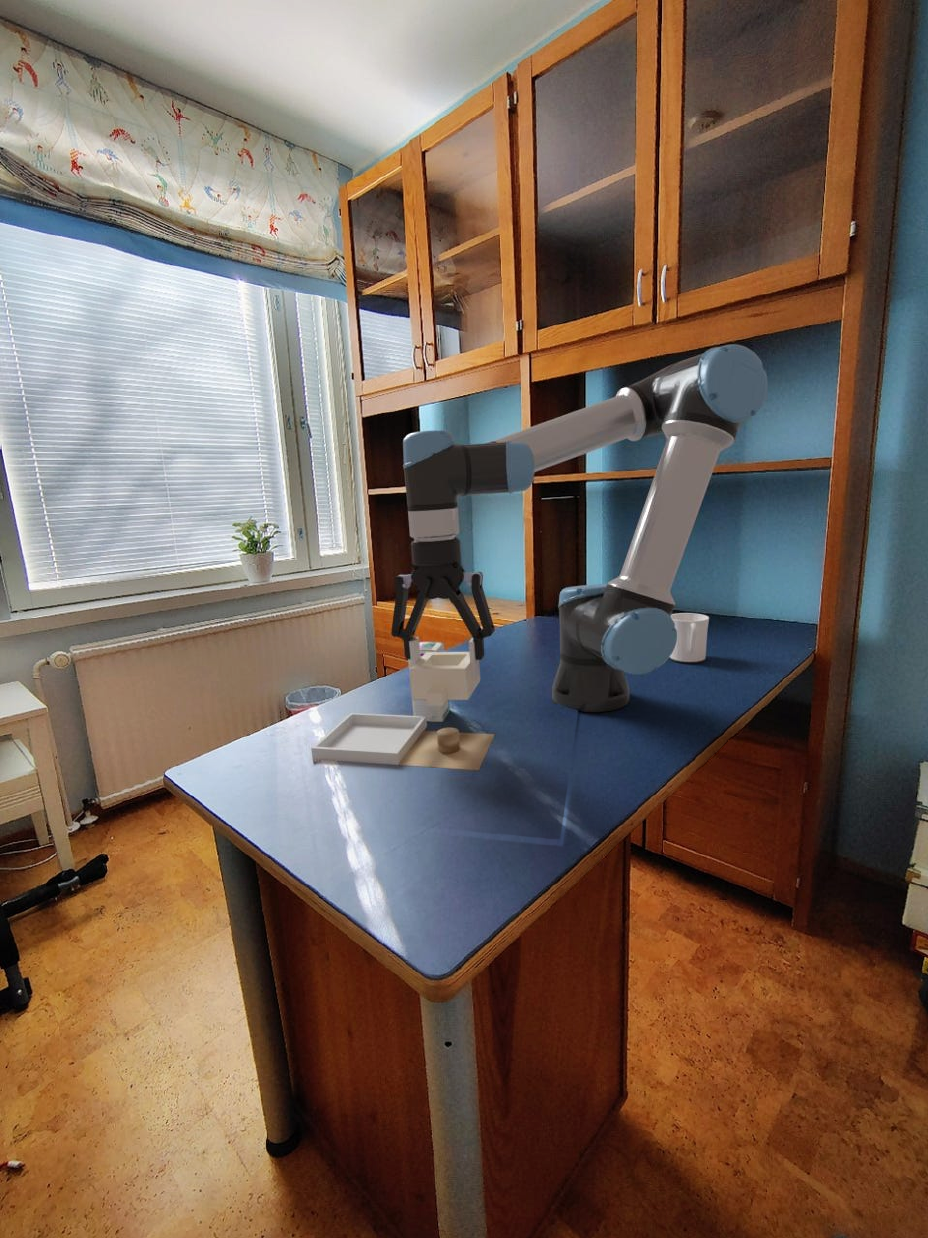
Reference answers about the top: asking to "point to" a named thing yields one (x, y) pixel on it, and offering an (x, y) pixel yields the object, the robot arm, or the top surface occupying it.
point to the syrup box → (421, 705)
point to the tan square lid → (448, 750)
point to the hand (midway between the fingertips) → (446, 678)
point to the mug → (690, 638)
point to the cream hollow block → (442, 677)
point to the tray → (370, 738)
